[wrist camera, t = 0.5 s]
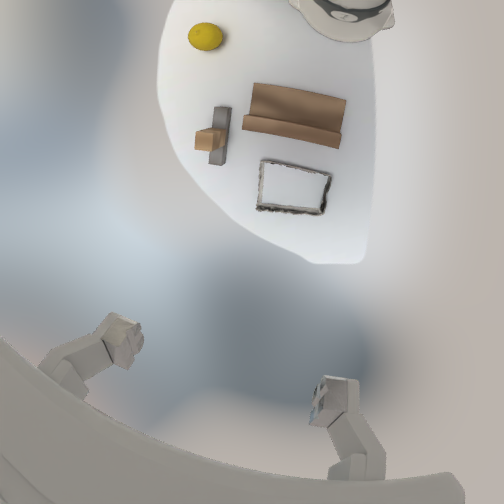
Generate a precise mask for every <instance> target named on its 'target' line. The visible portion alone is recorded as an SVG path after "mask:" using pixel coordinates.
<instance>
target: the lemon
mask: <svg viewBox="0 0 504 504" xmlns="http://www.w3.org/2000/svg"><path fill="white" fill-rule="evenodd" d="M222 38H223V35H222V32H221V30H220V29H219V28H218V27H217V26H216V25H214V24H211V23H199V24H197V25H195V26H193V27H192V28H191V30H190V31H189V34H188V39H189V42H190V43H191V45H192V46H193V47H195V48H196V49H199V50H203V51H208V50H212V49H215V48H216V47H218V46H219V45H220V43H221V41H222Z"/></svg>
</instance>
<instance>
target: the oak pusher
mask: <svg viewBox="0 0 504 504" xmlns="http://www.w3.org/2000/svg"><path fill="white" fill-rule="evenodd" d="M231 110H232V108H228V107H214V114H213V123H212V128H208V129H204V130H200V131H197V132H196V136H195V150H203V151H210V154H209V164H213V165H219V166H222V165H223V164H225V160H226V151H227V142H228V134H229V126H230V118H231Z"/></svg>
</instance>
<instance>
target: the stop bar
mask: <svg viewBox="0 0 504 504" xmlns="http://www.w3.org/2000/svg"><path fill="white" fill-rule="evenodd" d="M345 105H346V100H343V99H339V98H335V97H331V96H327V95H323V94H318V93H313V92H309V91H304V90H298V89H293V88H287V87H281V86H274V85H267V84H259V83H254V86H253V93H252V100H251V107H250V114H249V115H244V118H243V125H242V130H249V131H255V132H261V133H267V134H273V135H278V136H283V137H288V138H293V139H298V140H303V141H307V142H312V143H316V144H320V145H324V146H328V147H332V148H336V149H339V145H340V140H341V136H342V134H341V133H340V129H341V125H342V120H343V115H344V110H345Z"/></svg>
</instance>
